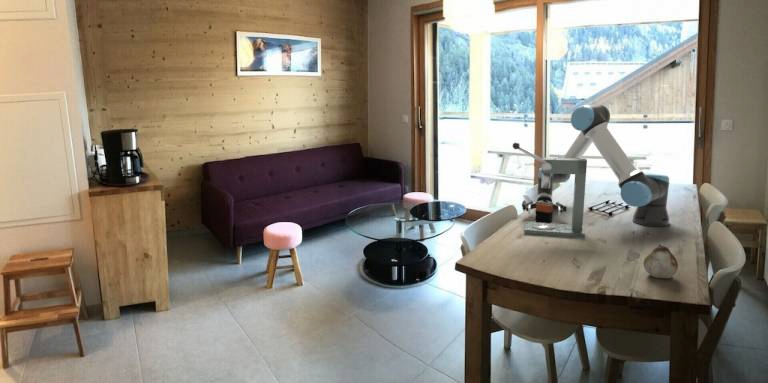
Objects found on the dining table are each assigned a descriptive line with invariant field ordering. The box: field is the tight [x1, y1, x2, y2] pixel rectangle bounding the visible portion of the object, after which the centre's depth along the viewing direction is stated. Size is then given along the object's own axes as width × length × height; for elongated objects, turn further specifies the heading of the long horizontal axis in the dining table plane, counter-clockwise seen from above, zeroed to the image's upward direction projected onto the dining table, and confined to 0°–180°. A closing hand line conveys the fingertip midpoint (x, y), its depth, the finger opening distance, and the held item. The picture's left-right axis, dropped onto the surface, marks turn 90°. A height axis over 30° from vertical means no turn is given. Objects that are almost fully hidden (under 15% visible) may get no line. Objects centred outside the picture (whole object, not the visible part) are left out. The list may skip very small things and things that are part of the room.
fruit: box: [643, 244, 679, 279], centre depth 166 cm, size 10×9×12 cm
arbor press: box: [512, 141, 588, 239], centre depth 216 cm, size 32×14×40 cm, turn 72°
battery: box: [534, 201, 554, 223], centre depth 233 cm, size 4×7×10 cm, turn 48°
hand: (544, 211), depth 230 cm, fingers open, 13 cm apart
